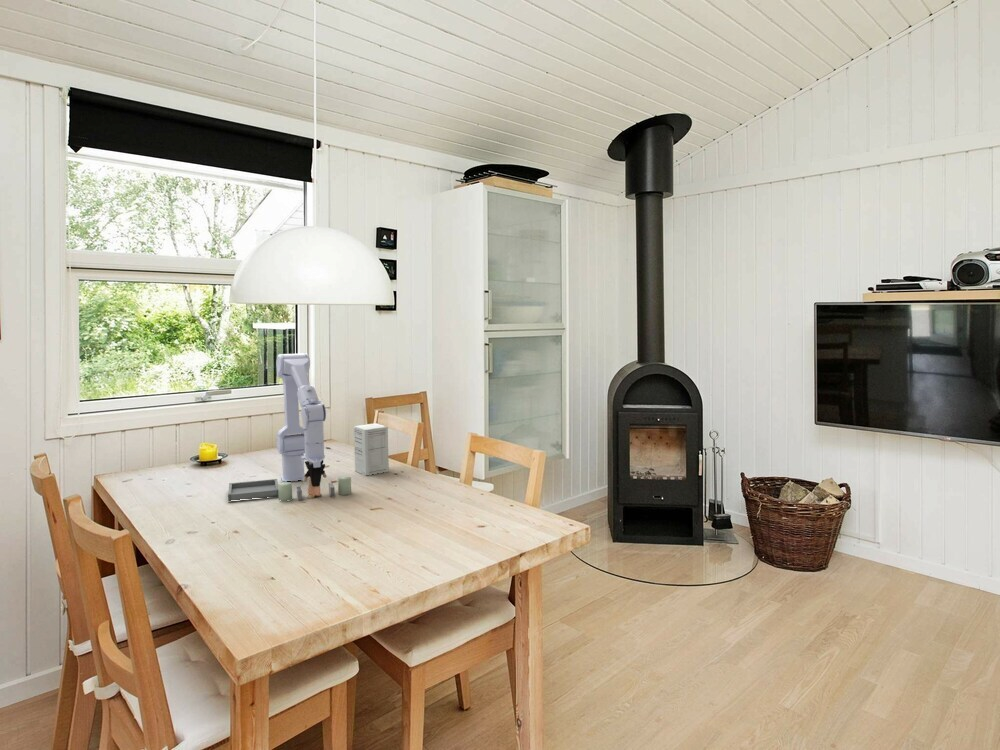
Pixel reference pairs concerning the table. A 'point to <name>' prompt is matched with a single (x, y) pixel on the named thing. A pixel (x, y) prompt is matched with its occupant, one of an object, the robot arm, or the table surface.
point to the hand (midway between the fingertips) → (315, 484)
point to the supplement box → (371, 449)
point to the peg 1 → (344, 485)
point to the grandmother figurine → (312, 490)
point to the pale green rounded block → (285, 491)
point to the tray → (253, 489)
